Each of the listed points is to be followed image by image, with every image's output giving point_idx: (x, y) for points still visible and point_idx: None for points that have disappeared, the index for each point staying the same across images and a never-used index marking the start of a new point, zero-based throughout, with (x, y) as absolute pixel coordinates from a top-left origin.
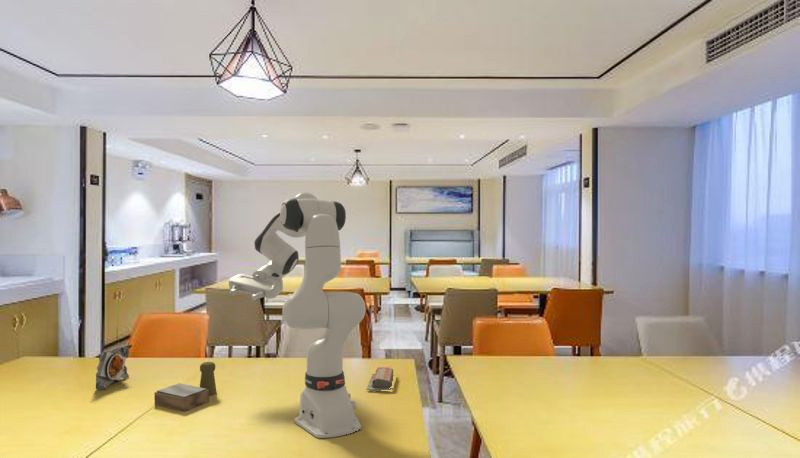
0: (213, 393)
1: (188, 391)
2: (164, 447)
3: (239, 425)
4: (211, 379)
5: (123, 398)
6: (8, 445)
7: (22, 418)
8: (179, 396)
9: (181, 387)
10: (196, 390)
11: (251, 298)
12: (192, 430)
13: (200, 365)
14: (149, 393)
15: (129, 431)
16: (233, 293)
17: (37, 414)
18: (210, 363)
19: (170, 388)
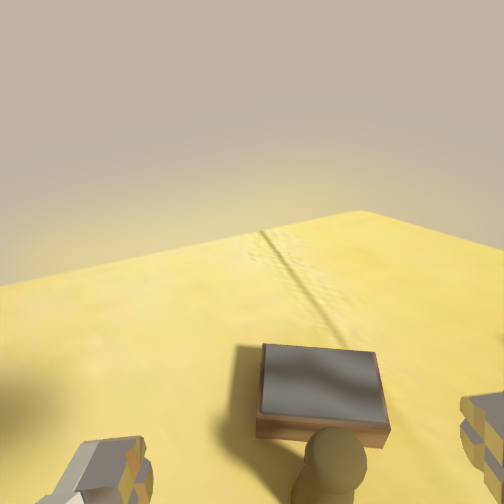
0: (292, 497)
1: (291, 375)
2: (174, 257)
3: (87, 346)
4: (303, 472)
5: (482, 376)
6: (380, 216)
7: (491, 259)
8: (285, 347)
9: (340, 393)
10: (276, 388)
11: (142, 457)
12: (172, 304)
13: (353, 435)
14: None
15: (276, 274)
16: (469, 430)
17: (497, 273)
18: (320, 447)
19: (359, 376)
